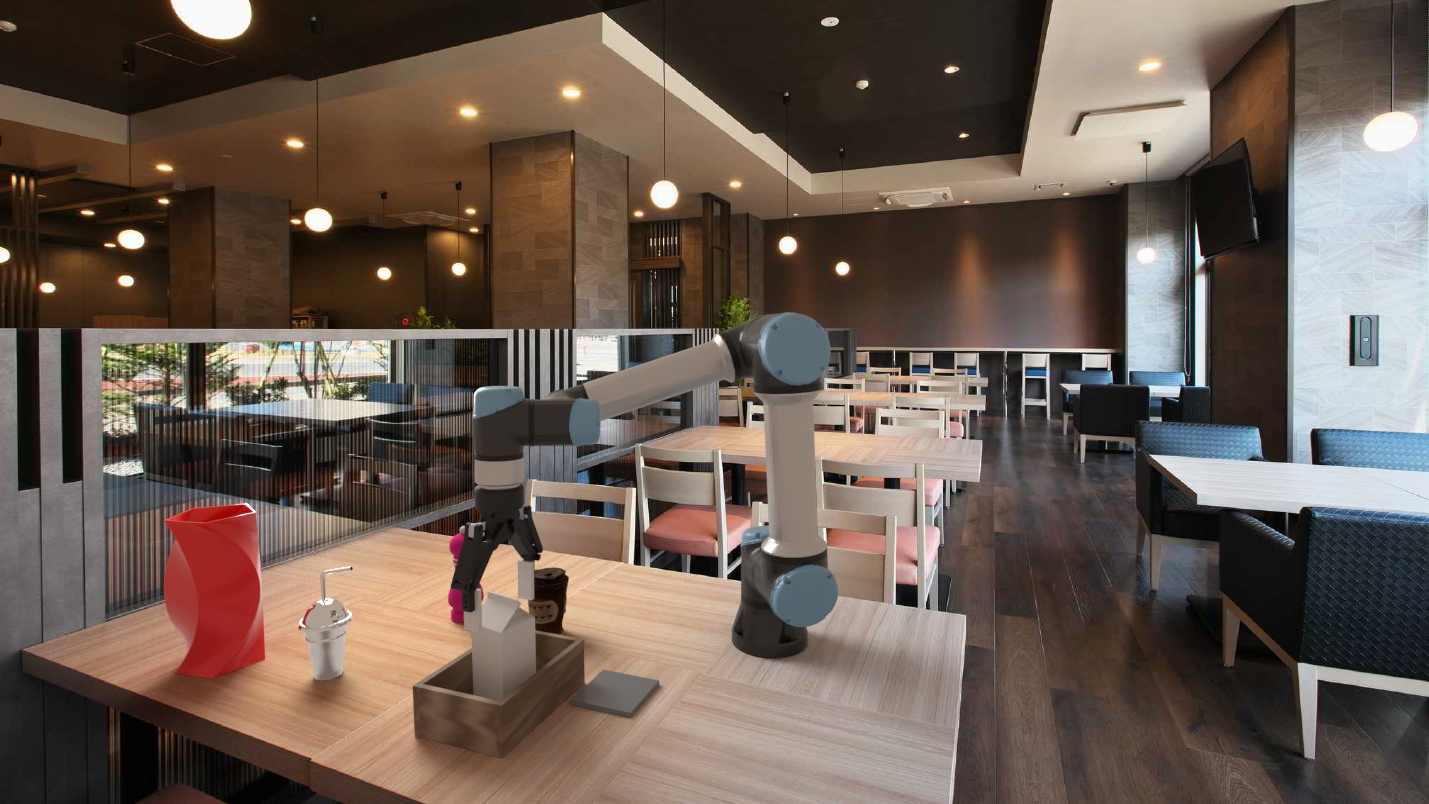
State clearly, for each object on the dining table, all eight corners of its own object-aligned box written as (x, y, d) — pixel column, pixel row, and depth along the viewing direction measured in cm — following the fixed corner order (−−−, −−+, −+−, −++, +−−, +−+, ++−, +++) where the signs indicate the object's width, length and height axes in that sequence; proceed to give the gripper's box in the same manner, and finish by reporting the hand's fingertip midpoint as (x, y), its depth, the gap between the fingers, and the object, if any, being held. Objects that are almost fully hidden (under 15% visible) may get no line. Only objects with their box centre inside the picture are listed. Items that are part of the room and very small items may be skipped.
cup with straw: (336, 659, 130) (330, 555, 128) (367, 670, 126) (362, 563, 124) (290, 679, 122) (283, 569, 120) (322, 692, 118) (316, 578, 116)
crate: (584, 682, 122) (583, 639, 121) (502, 758, 100) (501, 705, 100) (508, 667, 127) (506, 625, 126) (414, 735, 106) (412, 685, 105)
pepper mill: (441, 620, 147) (437, 528, 145) (465, 608, 154) (462, 520, 152) (468, 626, 145) (465, 532, 142) (491, 613, 151) (488, 523, 149)
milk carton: (503, 724, 109) (500, 607, 107) (473, 711, 113) (469, 598, 111) (537, 704, 115) (534, 593, 113) (507, 692, 119) (504, 584, 117)
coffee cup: (558, 645, 136) (557, 581, 135) (518, 641, 138) (517, 578, 136) (575, 626, 145) (574, 566, 143) (538, 623, 146) (537, 563, 145)
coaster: (659, 684, 121) (659, 680, 121) (630, 717, 111) (630, 712, 111) (603, 673, 125) (603, 669, 125) (570, 704, 115) (570, 699, 115)
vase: (159, 668, 126) (147, 517, 123) (239, 635, 139) (229, 499, 136) (215, 684, 121) (203, 527, 118) (292, 649, 134) (283, 507, 131)
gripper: (526, 467, 123) (527, 584, 125) (422, 499, 99) (426, 641, 102) (562, 471, 120) (563, 590, 122) (465, 504, 97) (468, 650, 99)
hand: (501, 613), depth 112 cm, fingers open, 13 cm apart
